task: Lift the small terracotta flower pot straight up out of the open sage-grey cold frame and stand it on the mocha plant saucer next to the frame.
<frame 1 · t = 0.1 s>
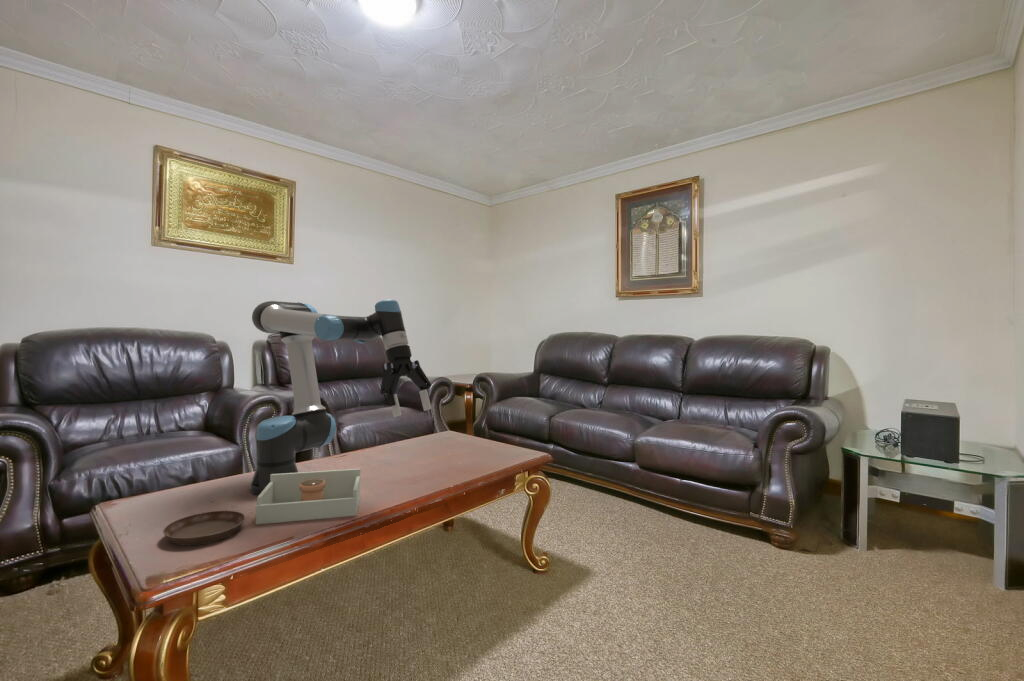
hand: (413, 413, 141), 28 cm above the table, tool tilted 20°, fingers open, 13 cm apart
plant saucer: (205, 535, 119), on the table
cold frame: (312, 509, 136), on the table
terracotta pot: (312, 495, 135), in the cold frame
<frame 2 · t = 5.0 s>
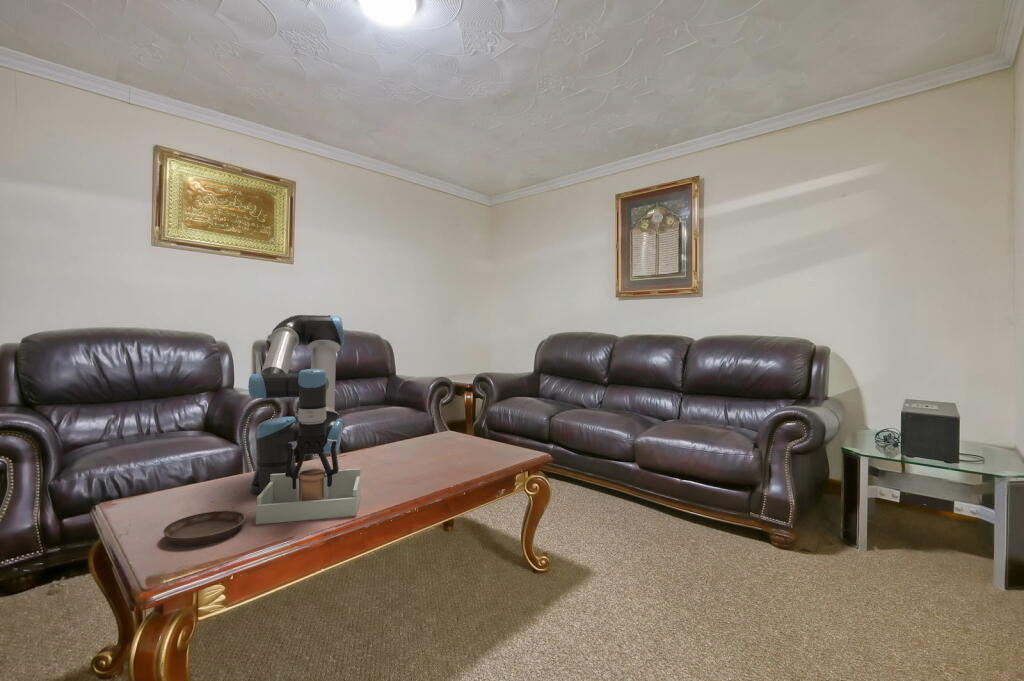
hand: (312, 498, 136), 3 cm above the table, tool pointing down, fingers closed on terracotta pot, 7 cm apart
terracotta pot: (312, 485, 136), point 7 cm above the table, touching gripper
everything else where it was.
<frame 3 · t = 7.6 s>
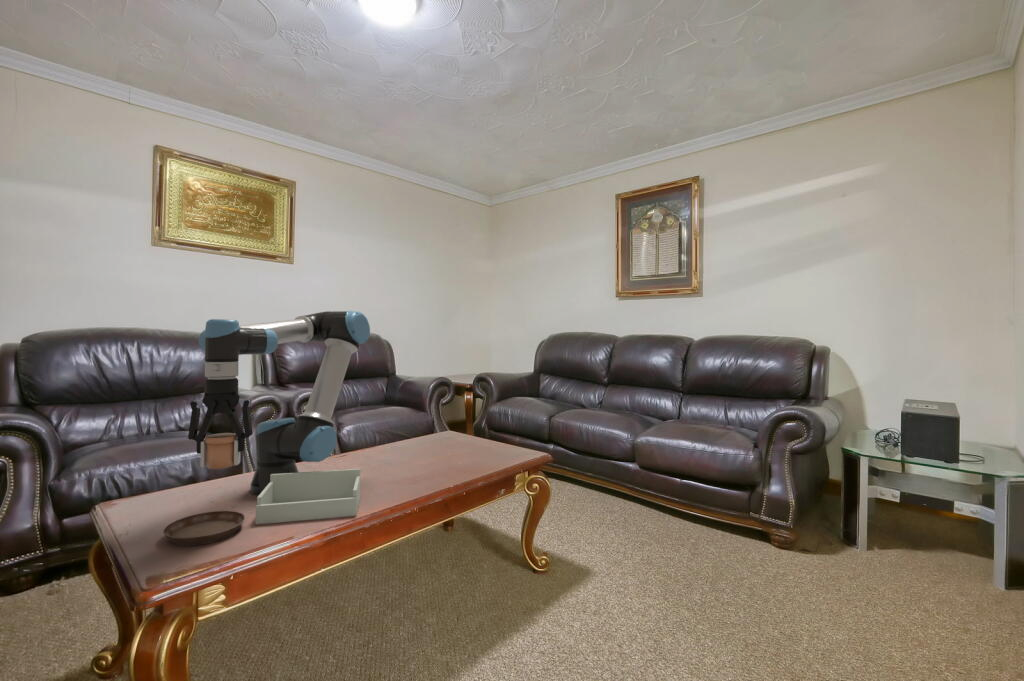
hand: (220, 464, 121), 17 cm above the table, tool pointing down, fingers closed on terracotta pot, 7 cm apart
terracotta pot: (221, 450, 121), point 21 cm above the table, touching gripper
everything else where it was.
when the fingers open (5 cm above the table, at t = 10.3 s): terracotta pot drops 2 cm, resting on plant saucer.
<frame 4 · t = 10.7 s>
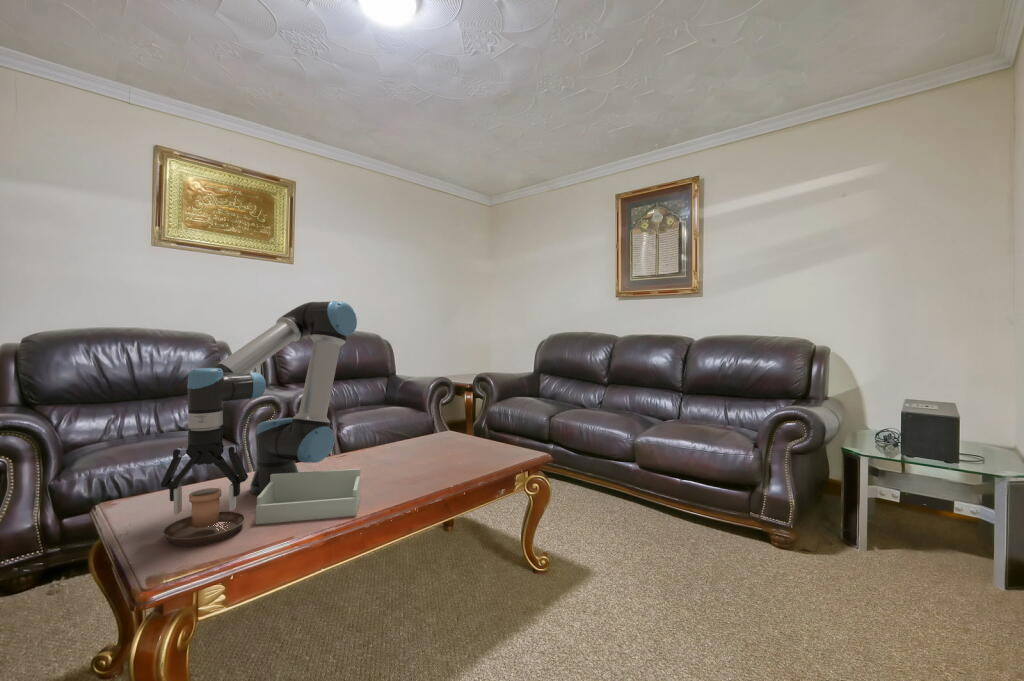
hand: (205, 510, 119), 6 cm above the table, tool pointing down, fingers open, 12 cm apart
plant saucer: (205, 535, 119), on the table, touching terracotta pot
terracotta pot: (205, 507, 119), point 7 cm above the table, touching plant saucer
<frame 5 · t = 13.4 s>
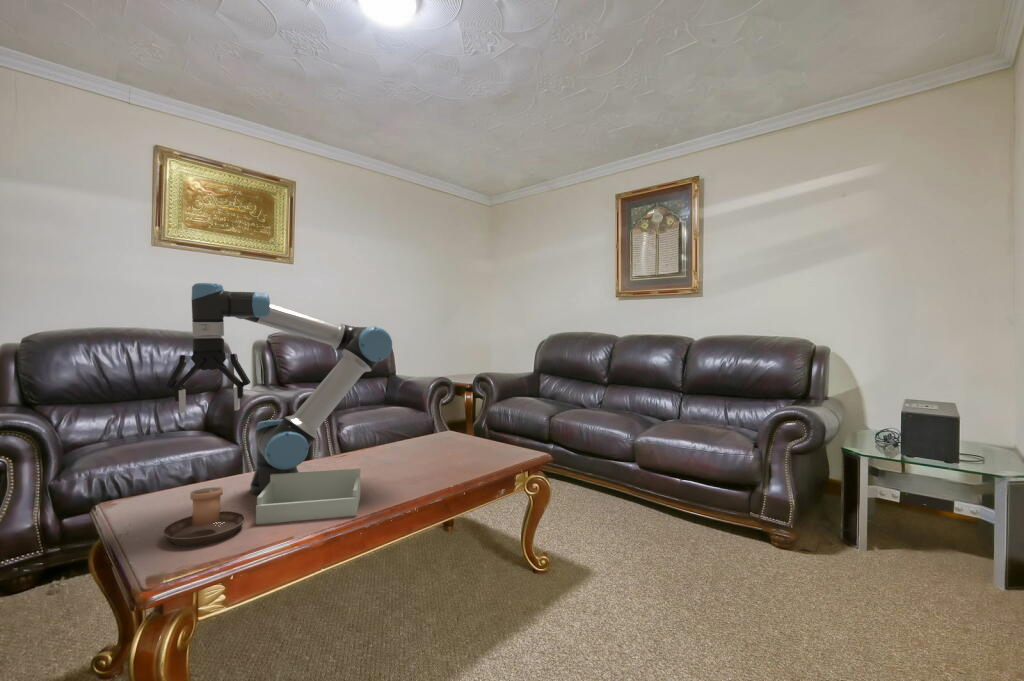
hand: (210, 411, 132), 30 cm above the table, tool pointing down, fingers open, 13 cm apart
nothing on the table moved.
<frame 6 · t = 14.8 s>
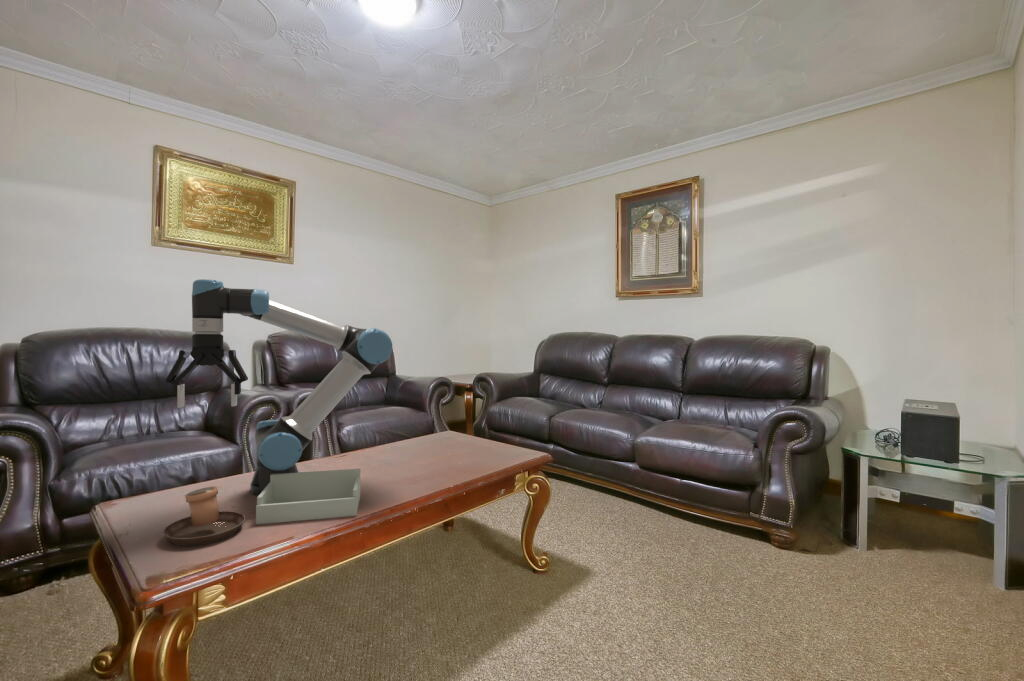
hand: (208, 406, 133), 31 cm above the table, tool pointing down, fingers open, 13 cm apart
at the end: terracotta pot inside the target area on the plant saucer (0.3 cm from its centre), point 7.7 cm above the plant saucer's base; terracotta pot tilted 10°; terracotta pot touching plant saucer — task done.
